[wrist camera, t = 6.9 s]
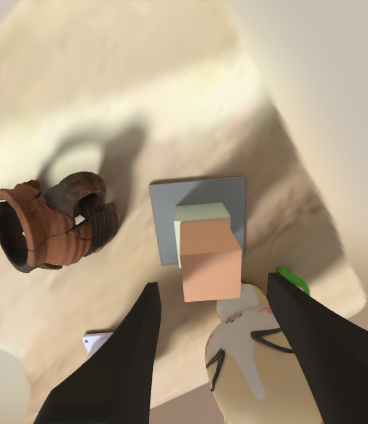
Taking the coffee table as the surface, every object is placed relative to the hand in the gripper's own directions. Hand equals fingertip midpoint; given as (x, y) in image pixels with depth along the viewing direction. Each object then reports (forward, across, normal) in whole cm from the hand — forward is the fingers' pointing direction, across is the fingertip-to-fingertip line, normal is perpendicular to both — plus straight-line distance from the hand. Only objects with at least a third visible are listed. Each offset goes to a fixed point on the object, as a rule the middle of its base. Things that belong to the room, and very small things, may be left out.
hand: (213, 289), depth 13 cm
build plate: (+10, 0, 0) cm, 10 cm away
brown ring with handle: (+11, +13, -3) cm, 17 cm away
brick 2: (+6, 0, 0) cm, 6 cm away
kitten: (+11, -5, +11) cm, 16 cm away
